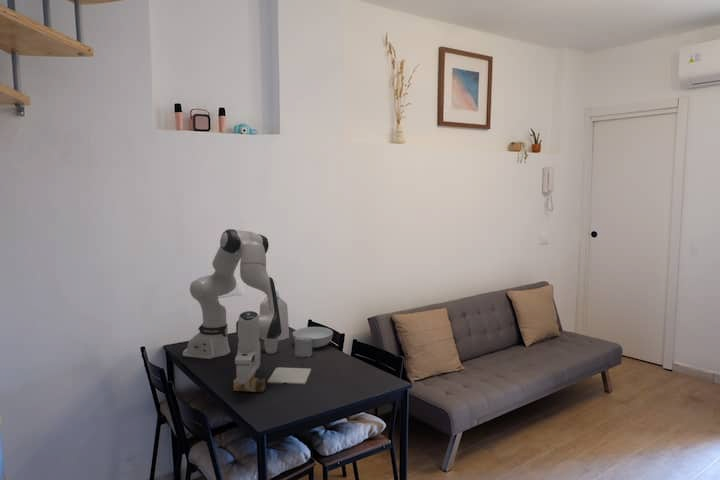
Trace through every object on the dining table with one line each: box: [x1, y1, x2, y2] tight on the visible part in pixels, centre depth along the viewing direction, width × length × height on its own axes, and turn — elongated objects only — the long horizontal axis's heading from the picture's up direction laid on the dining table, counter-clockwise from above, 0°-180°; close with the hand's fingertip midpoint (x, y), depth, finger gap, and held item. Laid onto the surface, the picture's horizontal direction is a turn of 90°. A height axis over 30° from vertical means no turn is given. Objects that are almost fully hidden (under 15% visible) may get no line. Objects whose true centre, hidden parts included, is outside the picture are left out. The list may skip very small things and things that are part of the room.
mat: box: [267, 367, 312, 385], centre depth 214 cm, size 16×16×1 cm
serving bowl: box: [292, 326, 334, 349], centre depth 255 cm, size 21×21×7 cm
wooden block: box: [232, 376, 266, 393], centre depth 199 cm, size 12×4×4 cm, turn 86°
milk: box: [259, 290, 290, 342], centre depth 265 cm, size 12×12×26 cm
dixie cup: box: [263, 336, 279, 354], centre depth 244 cm, size 8×8×10 cm
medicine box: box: [293, 337, 313, 358], centre depth 239 cm, size 8×4×9 cm, turn 84°
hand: (249, 385), depth 199 cm, fingers closed on wooden block, 4 cm apart
